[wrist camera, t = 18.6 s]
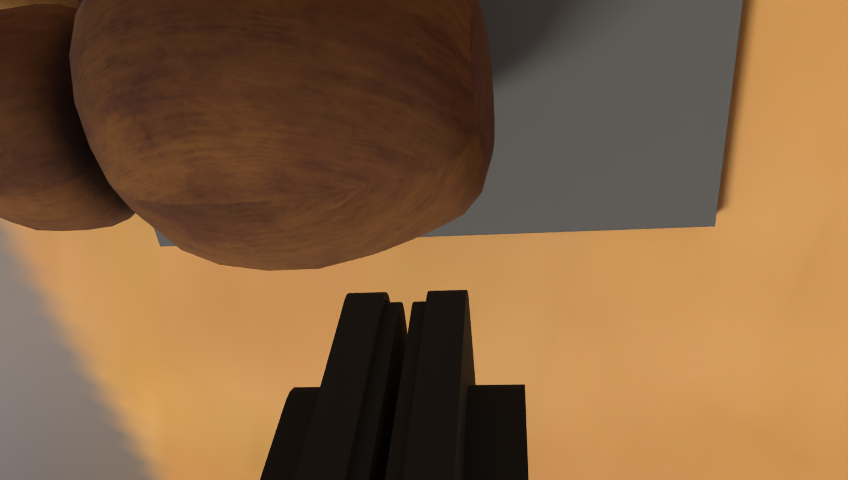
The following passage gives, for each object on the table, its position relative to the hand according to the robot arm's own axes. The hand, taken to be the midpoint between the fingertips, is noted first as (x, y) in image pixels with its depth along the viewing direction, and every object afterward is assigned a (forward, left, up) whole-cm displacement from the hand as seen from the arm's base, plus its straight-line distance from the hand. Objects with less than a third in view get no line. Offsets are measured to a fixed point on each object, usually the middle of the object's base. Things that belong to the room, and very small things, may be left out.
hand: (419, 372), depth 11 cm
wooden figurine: (-1, -2, -6) cm, 6 cm away
